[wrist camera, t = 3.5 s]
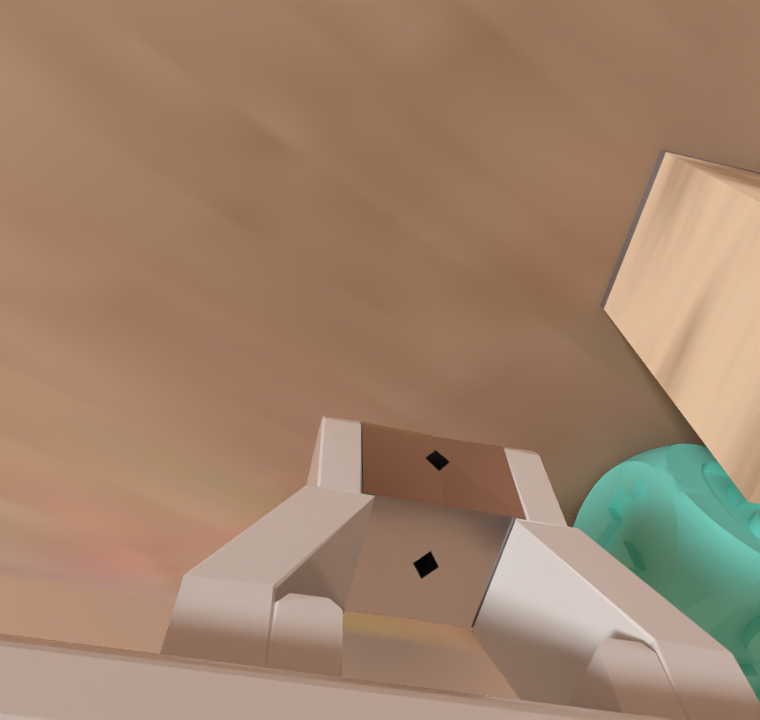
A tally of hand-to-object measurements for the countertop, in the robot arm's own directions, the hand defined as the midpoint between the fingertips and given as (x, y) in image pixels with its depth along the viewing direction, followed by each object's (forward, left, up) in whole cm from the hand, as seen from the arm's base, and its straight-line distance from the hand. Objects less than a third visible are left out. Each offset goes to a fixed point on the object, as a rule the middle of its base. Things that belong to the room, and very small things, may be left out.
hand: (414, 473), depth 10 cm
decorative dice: (-16, +12, -18) cm, 27 cm away
